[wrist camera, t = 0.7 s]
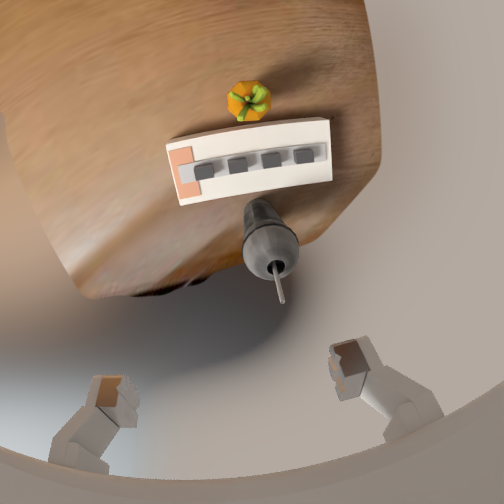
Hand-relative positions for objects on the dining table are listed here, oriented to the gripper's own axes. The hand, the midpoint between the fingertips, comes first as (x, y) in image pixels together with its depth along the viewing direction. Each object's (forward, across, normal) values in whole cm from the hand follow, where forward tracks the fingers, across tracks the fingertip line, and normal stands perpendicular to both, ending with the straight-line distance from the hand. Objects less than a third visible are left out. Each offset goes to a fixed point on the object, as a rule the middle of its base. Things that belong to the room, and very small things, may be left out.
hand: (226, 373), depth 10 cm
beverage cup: (+36, -5, +10) cm, 38 cm away
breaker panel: (+36, -5, 0) cm, 36 cm away
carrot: (+36, -5, -8) cm, 37 cm away
